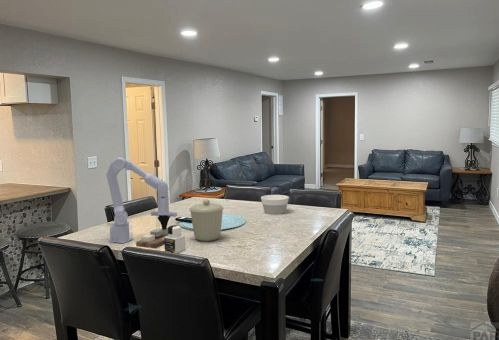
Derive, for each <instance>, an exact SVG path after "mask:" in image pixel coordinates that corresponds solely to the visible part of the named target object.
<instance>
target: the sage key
mask: <svg viewBox="0 0 499 340" xmlns="http://www.w3.org/2000/svg"><path fill="white" fill-rule="evenodd" d="M158 230H163V229H162V228H159V229H158ZM167 234H168V227H167V229H165V230H163V235H167Z"/></svg>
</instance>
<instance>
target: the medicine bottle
mask: <svg viewBox="0 0 499 340" xmlns="http://www.w3.org/2000/svg"><path fill="white" fill-rule="evenodd" d="M181 227H182V226H180V225H177V224H174V225H169V226H167V228H168V235H169V236H166V237H164V245H163V246H164V252H166V251H168V252H167V253H170V252H174V253H173V254H175V253H176V254H178V253H180V252H183V251H185V250H186V235H184V234H182V231H181V230H182V229H181ZM180 234H181V235H180Z"/></svg>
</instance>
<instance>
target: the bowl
mask: <svg viewBox="0 0 499 340" xmlns="http://www.w3.org/2000/svg"><path fill="white" fill-rule="evenodd" d="M260 200H261V204H262V207H263V211H264V213H265V214H266V215H271V216H277V215H284V214H286V211H287V207H288V203H289V201H290V196H288V195H284V194H266V195H262V196H261V197H260Z"/></svg>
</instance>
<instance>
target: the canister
mask: <svg viewBox="0 0 499 340" xmlns="http://www.w3.org/2000/svg"><path fill="white" fill-rule="evenodd" d="M224 209H225V207H224V206H222V205H221V204H219V203H212V202H210V200H209V199H207V198H206V199H203V201H202V203H198V204H194V205H192V206H190V208H189V209H188V210H189V212H190V217H191V223H192V230H193V235H194V238H195V239H196V240H197V241H201V242H212V241H217V240H218V239H219V238H220V236H221V234H222V226H223V225H222V224H223V223H222V222H223V210H224Z"/></svg>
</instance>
